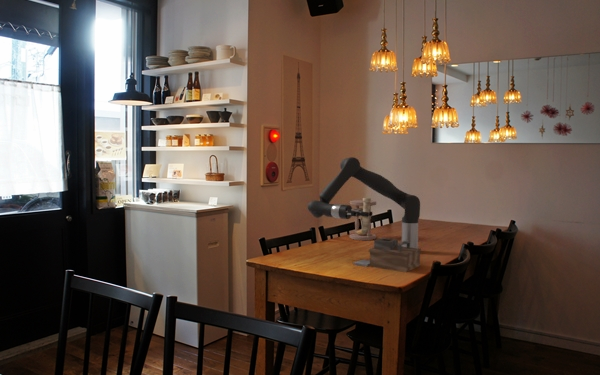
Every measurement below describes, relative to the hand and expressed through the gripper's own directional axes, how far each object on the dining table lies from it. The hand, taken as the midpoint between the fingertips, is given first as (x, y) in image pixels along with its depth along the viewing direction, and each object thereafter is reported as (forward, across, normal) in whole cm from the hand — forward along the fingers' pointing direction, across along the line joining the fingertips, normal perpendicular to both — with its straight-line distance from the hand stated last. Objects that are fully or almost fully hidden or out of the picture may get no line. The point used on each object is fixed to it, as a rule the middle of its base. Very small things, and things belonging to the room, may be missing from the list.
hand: (370, 214), depth 265 cm
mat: (-2, 0, +26) cm, 26 cm away
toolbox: (+12, +4, +26) cm, 29 cm away
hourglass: (-43, +69, +26) cm, 85 cm away
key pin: (-3, 0, +10) cm, 10 cm away
